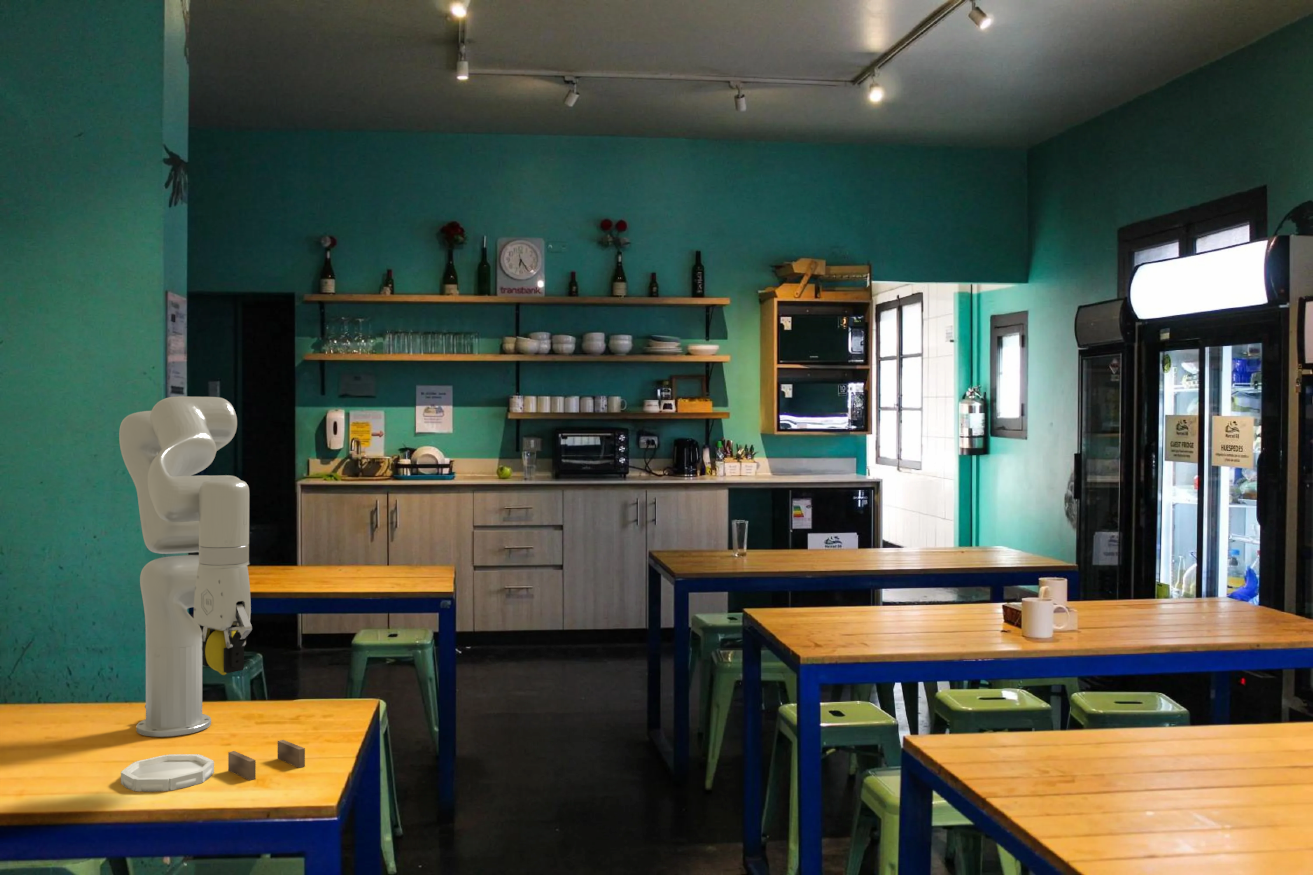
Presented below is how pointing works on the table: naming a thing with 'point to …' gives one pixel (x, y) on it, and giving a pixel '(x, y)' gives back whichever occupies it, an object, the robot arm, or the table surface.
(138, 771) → the saucer
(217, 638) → the lemon
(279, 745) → the rack
